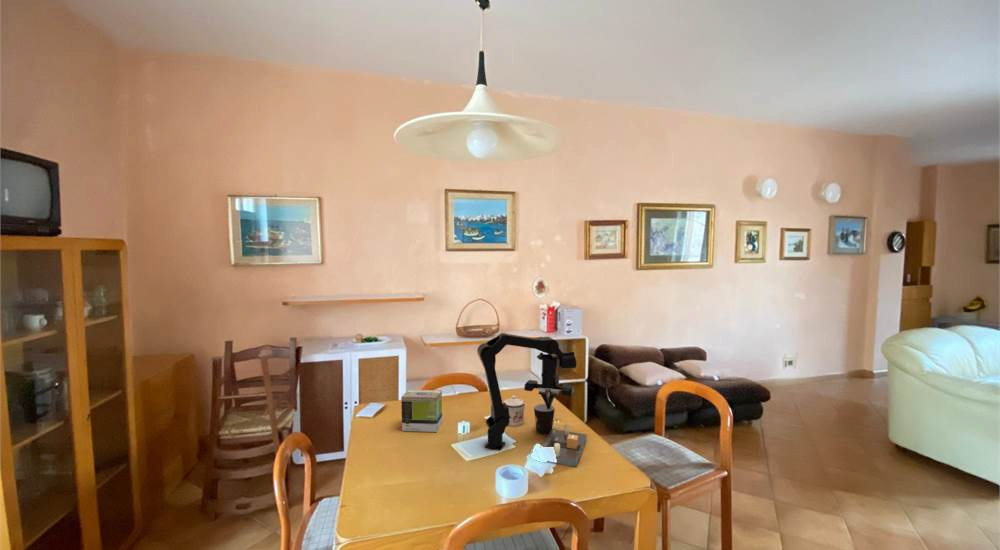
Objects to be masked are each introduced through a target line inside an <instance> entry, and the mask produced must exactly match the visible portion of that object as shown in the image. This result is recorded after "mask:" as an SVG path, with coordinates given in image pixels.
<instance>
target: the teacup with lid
mask: <svg viewBox="0 0 1000 550" xmlns="http://www.w3.org/2000/svg"><path fill="white" fill-rule="evenodd" d="M502 403H505V404H506V405H507V406H508V408H509V415H510V417H511V418H509V421H510V422H509V424H508V426H511V427H519V426H521V425H523V424H524V419H525V418H524V413H525V409H526V406H525V402H524V400H522V399H521V398H519V397H517V396H516V395H511V397H509V398H507V399H505V400H504V401H502Z"/></svg>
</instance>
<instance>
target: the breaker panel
mask: <svg viewBox="0 0 1000 550" xmlns="http://www.w3.org/2000/svg"><path fill="white" fill-rule="evenodd" d="M569 434H571V435H577V436H578V447H577V449H572V448H567V437H565V436H564V430H560V429H554V428H552V429H551V431H550V433H549V434H547V435H546V438H545V439H544V441H543V442H542V444H541V446H543V447H554V444H555V443H559V444H560V456H559V457H556V459H557V464H556V465H562V466H566V467H567V466H568V467H574V468H577V467H578V464H579V461H580V459H581V456H582V455H583V450H584V449H585V446H586V443H587V434H586V433H580V432H573V431H569Z"/></svg>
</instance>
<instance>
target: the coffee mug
mask: <svg viewBox="0 0 1000 550" xmlns="http://www.w3.org/2000/svg"><path fill="white" fill-rule="evenodd" d="M533 410H534V411H533V412H534V421H535V431H536V433H538V434H540V435H546V436H548V434H549V433H550V431H551V429H553V425H554V418H555V410H556V407H555V406H554V405H551V408H550V410H549V409H547V406H546V404H545V403H538V404H535V405H534V406H533Z"/></svg>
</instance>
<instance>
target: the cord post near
mask: <svg viewBox="0 0 1000 550" xmlns="http://www.w3.org/2000/svg"><path fill="white" fill-rule="evenodd" d="M554 450H555V454H556V457H559V456H560V444H559V443H555V444H554Z"/></svg>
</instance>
